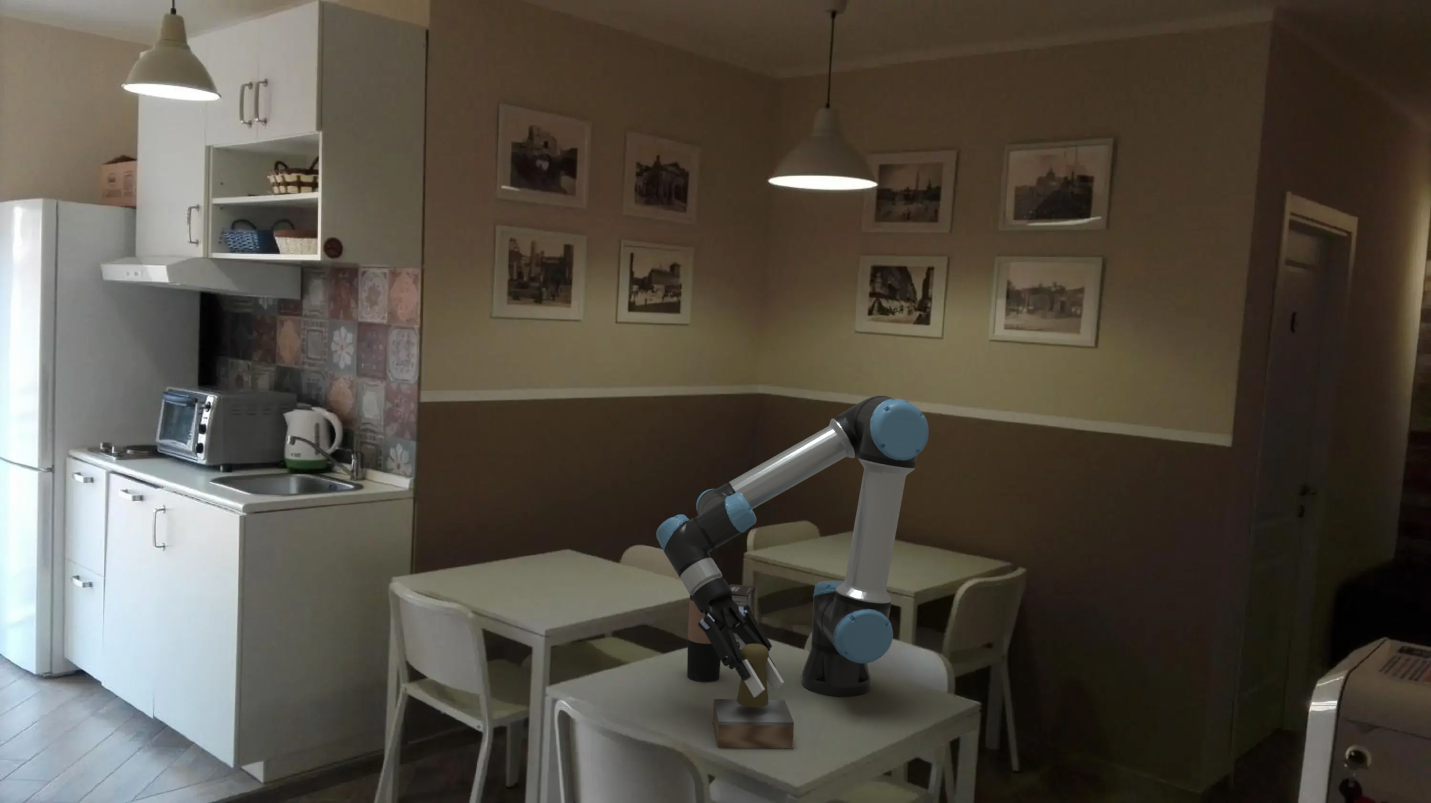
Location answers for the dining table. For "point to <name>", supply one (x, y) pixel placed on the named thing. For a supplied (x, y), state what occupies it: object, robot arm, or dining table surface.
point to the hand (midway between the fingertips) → (769, 689)
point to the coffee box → (743, 603)
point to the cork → (757, 660)
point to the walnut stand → (752, 725)
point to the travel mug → (700, 650)
